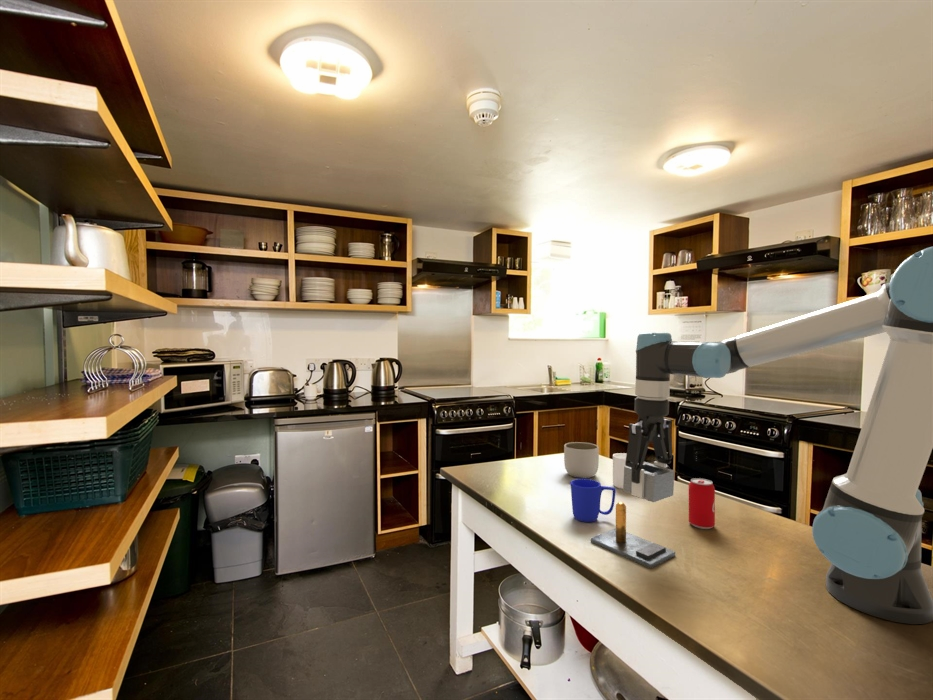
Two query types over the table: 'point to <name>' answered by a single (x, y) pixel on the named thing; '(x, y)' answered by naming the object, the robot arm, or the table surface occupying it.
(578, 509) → the mug
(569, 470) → the planter
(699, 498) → the beverage can
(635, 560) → the keeper
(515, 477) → the table surface
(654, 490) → the hollow square tube
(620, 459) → the mug
